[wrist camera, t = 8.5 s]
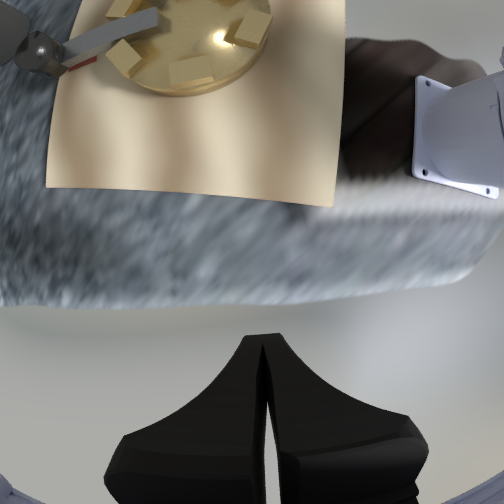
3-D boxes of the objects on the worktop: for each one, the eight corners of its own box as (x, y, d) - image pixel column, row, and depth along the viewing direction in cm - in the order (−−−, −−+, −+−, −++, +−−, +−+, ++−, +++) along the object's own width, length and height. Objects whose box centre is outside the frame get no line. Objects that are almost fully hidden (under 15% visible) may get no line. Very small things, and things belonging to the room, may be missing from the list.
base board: (338, -43, 14) (343, -54, 13) (326, 205, 20) (333, 208, 18) (110, -41, 14) (103, -50, 12) (56, 186, 19) (44, 187, 18)
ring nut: (282, 82, 16) (293, 46, 11) (62, 137, 17) (12, 131, 11) (255, -31, 14) (256, -78, 8) (62, 26, 14) (24, 1, 9)
